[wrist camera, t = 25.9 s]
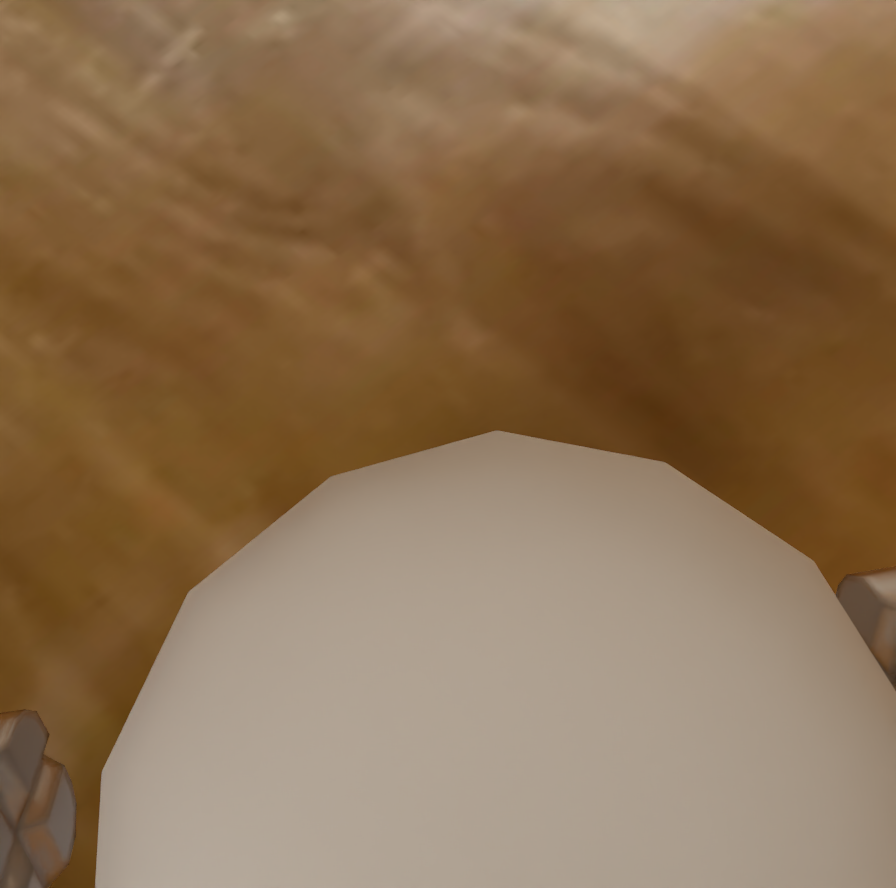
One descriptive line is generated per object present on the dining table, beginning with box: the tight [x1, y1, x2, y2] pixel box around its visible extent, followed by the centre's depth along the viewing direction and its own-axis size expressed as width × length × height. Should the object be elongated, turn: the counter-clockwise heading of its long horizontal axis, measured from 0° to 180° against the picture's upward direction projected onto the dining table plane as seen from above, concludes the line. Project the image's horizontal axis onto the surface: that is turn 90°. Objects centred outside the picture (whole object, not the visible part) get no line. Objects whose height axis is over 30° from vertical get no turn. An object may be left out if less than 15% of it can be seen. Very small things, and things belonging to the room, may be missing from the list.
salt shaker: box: [95, 430, 896, 888], centre depth 10 cm, size 6×6×13 cm
